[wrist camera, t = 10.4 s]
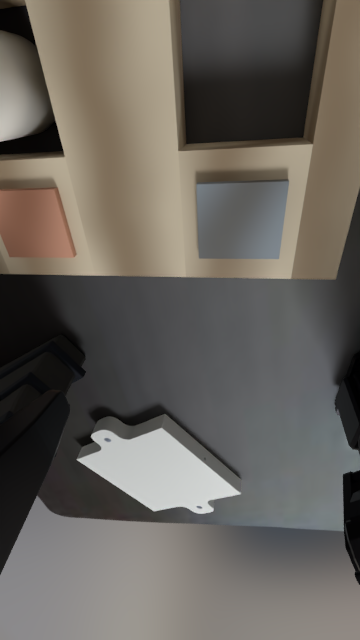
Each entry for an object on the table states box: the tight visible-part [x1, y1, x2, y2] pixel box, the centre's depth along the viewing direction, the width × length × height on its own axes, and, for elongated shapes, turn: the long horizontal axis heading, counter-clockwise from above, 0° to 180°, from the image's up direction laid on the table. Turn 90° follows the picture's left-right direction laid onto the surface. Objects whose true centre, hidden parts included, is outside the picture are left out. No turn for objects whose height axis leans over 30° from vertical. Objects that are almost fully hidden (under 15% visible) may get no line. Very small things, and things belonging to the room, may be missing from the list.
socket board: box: [0, 0, 360, 280], centre depth 14 cm, size 21×14×3 cm, turn 94°
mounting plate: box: [77, 414, 241, 514], centre depth 34 cm, size 18×13×2 cm
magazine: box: [0, 335, 86, 457], centre depth 23 cm, size 4×13×15 cm, turn 124°
